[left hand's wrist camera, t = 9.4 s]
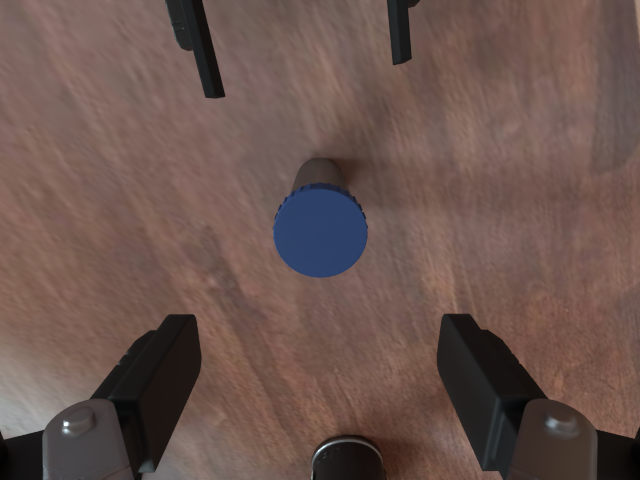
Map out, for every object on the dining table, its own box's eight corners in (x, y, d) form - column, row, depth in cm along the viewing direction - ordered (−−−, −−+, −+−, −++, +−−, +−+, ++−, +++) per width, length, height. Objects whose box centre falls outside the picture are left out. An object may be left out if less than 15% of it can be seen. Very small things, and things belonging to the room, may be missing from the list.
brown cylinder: (350, 197, 36) (370, 256, 22) (305, 212, 36) (295, 279, 22) (336, 150, 34) (347, 181, 20) (288, 167, 35) (267, 207, 21)
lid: (375, 252, 23) (379, 263, 21) (293, 277, 24) (291, 289, 22) (350, 169, 21) (352, 173, 20) (261, 198, 22) (257, 205, 20)
